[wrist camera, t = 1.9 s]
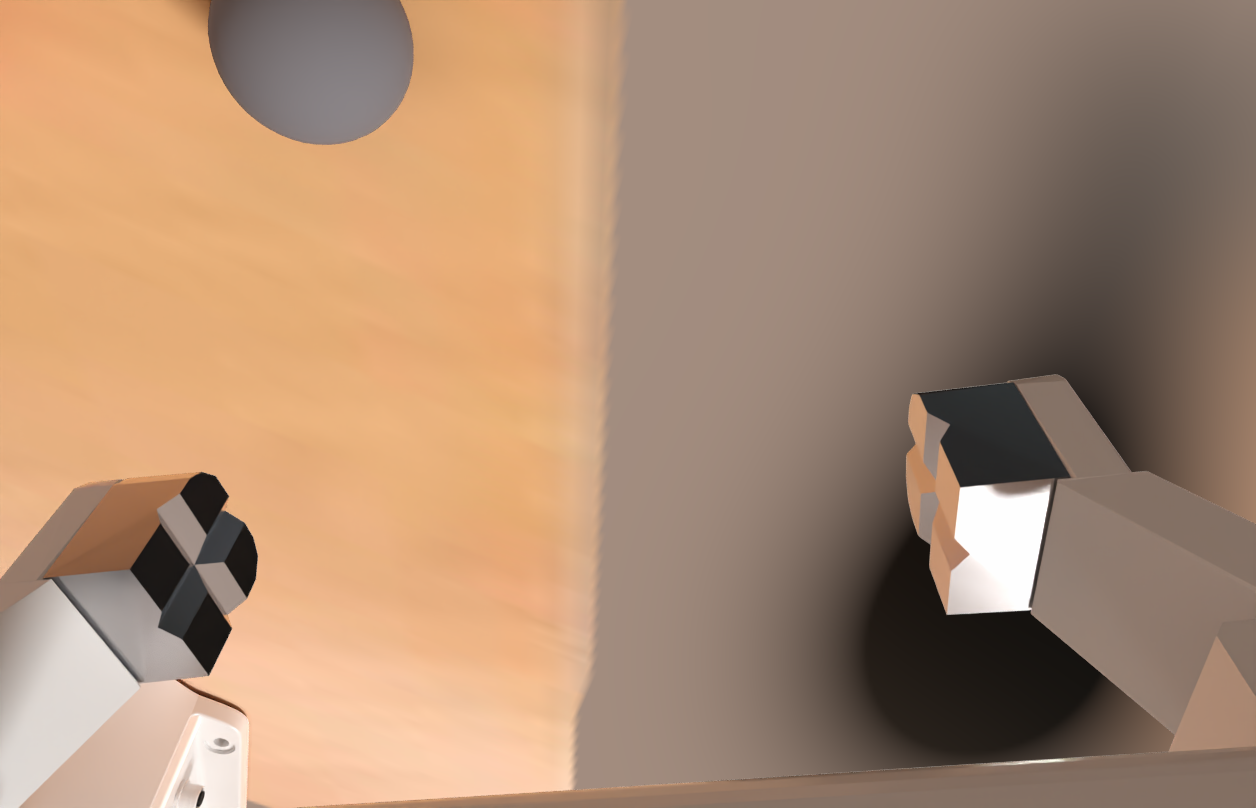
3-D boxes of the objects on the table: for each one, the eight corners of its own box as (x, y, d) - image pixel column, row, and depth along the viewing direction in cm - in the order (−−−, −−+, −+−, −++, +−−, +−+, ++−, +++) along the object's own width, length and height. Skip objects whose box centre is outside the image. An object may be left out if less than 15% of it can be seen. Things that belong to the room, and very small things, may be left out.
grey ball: (434, 119, 28) (397, 180, 24) (267, 104, 28) (197, 164, 23) (424, -68, 25) (380, -38, 20) (235, -86, 25) (148, -59, 20)
